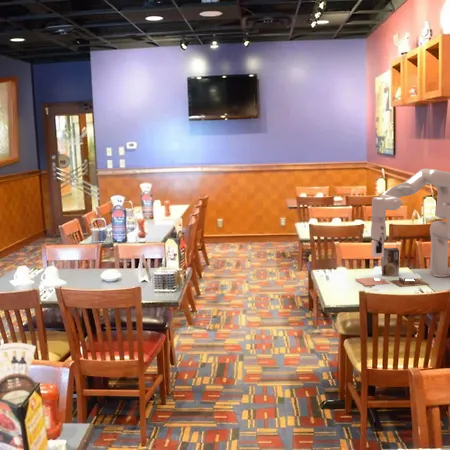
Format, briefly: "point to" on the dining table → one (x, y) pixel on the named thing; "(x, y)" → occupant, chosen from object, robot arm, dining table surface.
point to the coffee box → (390, 262)
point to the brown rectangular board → (408, 282)
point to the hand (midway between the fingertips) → (377, 251)
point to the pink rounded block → (373, 249)
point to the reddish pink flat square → (370, 281)
